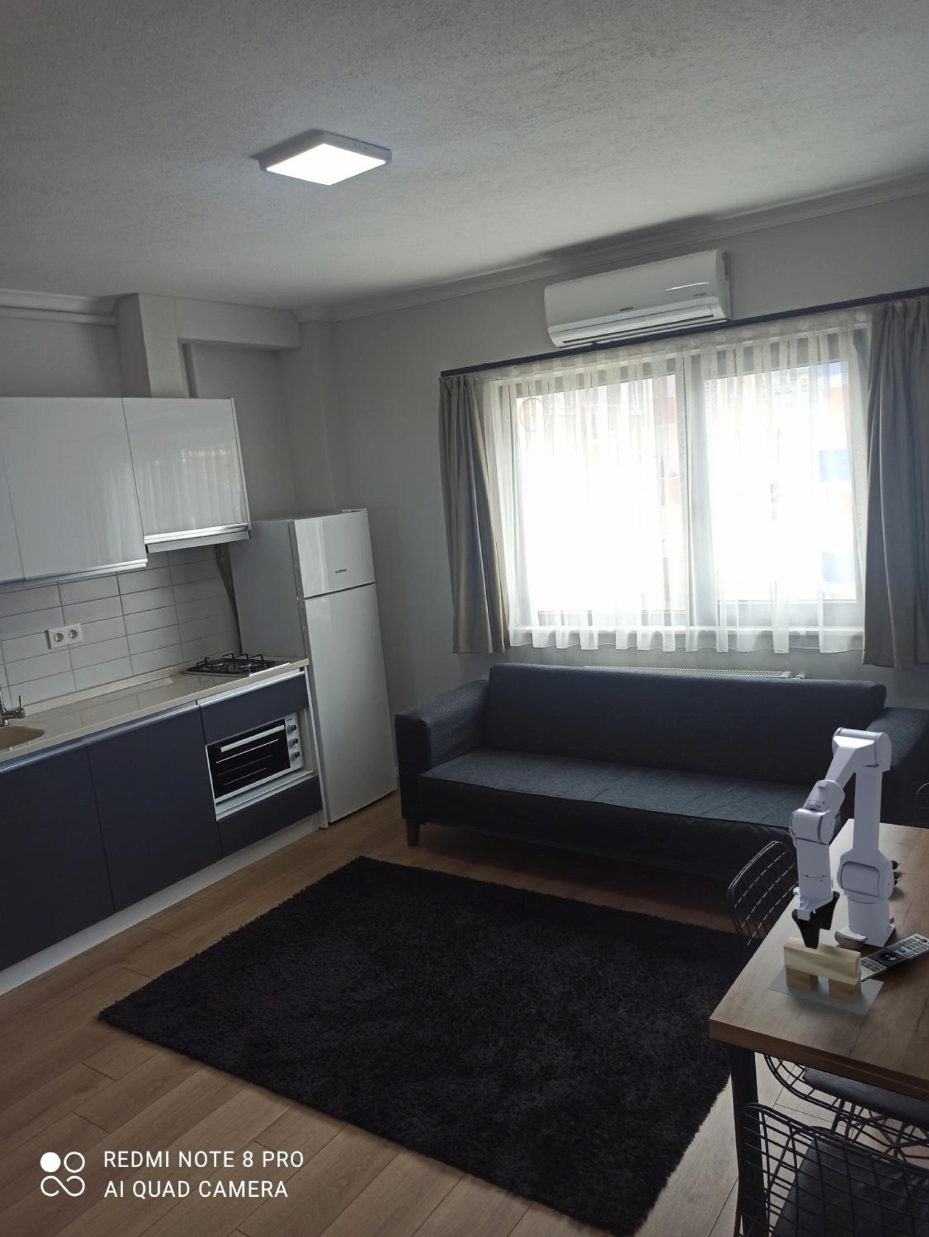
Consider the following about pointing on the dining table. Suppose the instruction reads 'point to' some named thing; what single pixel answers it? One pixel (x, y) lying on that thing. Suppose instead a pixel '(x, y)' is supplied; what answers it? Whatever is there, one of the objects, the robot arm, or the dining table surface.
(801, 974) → the block
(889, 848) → the dining table surface
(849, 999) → the block
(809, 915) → the robot arm
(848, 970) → the plank
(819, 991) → the mat
